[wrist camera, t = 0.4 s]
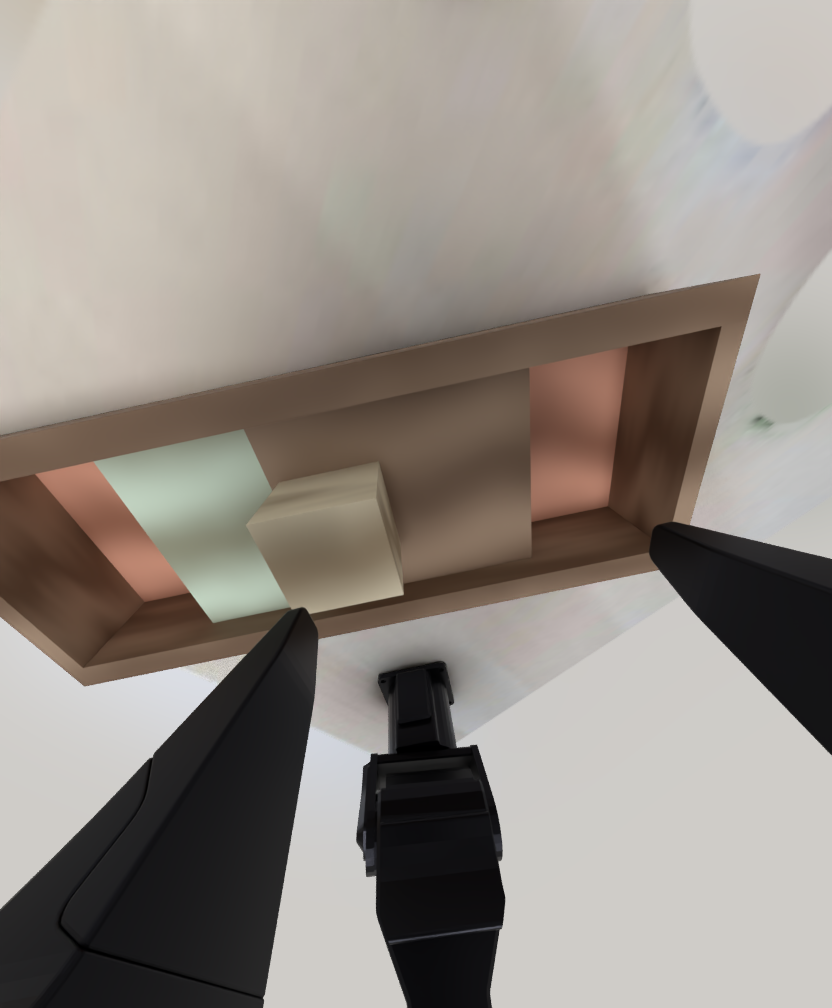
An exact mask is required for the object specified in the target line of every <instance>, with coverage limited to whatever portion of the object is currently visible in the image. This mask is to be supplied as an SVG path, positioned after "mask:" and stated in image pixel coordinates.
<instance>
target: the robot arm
mask: <svg viewBox="0 0 832 1008" xmlns="http://www.w3.org/2000/svg"><path fill="white" fill-rule="evenodd" d="M649 556H650V558H651V560H652V562H653V563H654V564H655V565H656V567H657V568H658V569H659V570H660V572H661V573H662V574H663V575H664V577H665V578H666V579H667V580H668V581H669V583H670V584H671V585H672V586H673V588H674V589H675V590H676V591H677V593H678V594H679V595H680V596H681V598H682V599H683V600H684V601H685V602H686V604H687V605H688V606H689V607H690V609H691V610H692V611H693V612H694V613H695V614H696V615H697V616H698V618H700V620H701V621H702V622H703V623H704V624H705V625H706V626H707V627H708V628H709V629H710V630H711V631H712V632H713V633H714V634H715V635H716V636H717V637H718V638H719V639H720V641H721V642H723V644H725V646H726V647H727V648H728V649H729V650H730V651H731V652H732V653H733V654H734V655H735V656H736V657H737V658H738V659H739V660H740V661H741V662H742V663H743V664H744V665H745V666H746V667H747V668H748V669H749V670H750V672H751V673H752V674H753V675H754V676H755V677H756V678H757V679H758V680H759V681H760V682H761V683H762V684H763V685H764V686H765V687H766V688H767V689H768V690H769V691H770V692H771V693H772V694H773V695H774V696H775V697H776V698H777V699H778V700H779V701H780V703H782V705H784V707H785V708H787V710H788V711H789V712H790V713H791V714H792V715H793V716H794V717H795V718H796V719H797V720H798V721H799V722H800V723H801V724H802V725H803V726H804V727H805V728H806V729H807V730H808V731H809V732H810V733H811V735H813V736H814V738H815V739H816V740H817V741H818V742H819V743H820V744H821V745H822V746H823V747H824V748H825V749H826V750H827V751H828V752H829V753H830V754H831V755H832V559H830V558H825V557H821V556H817V555H813V554H809V553H804V552H800V551H796V550H792V549H788V548H783V547H779V546H775V545H771V544H767V543H762V542H758V541H754V540H750V539H746V538H741V537H737V536H733V535H729V534H725V533H720V532H716V531H712V530H708V529H704V528H699V527H695V526H691V525H687V524H683V523H678V522H666V523H662V524H658V525H656V526H654V528H653V529H652V534H651V540H650V546H649ZM317 653H318V630H317V627H316V625H315V623H314V621H313V620H312V618H311V616H310V614H309V612H308V611H307V609H306V608H304V607H300V608H296V609H291V610H289V611H287V612H286V613H285V614H284V615H283V616H282V617H281V618H280V619H279V621H278V622H277V623H276V624H275V625H274V626H273V627H272V628H271V629H270V630H269V631H268V632H267V633H266V634H265V636H264V637H263V638H262V639H261V640H260V641H259V642H258V643H257V644H256V645H255V646H254V647H253V648H252V649H251V650H250V652H249V653H248V654H247V655H246V656H245V657H244V658H243V659H242V660H241V661H240V662H239V663H238V664H237V665H236V666H235V668H234V669H233V670H232V671H231V672H230V673H229V674H228V675H227V676H226V677H225V678H224V679H223V680H222V681H221V682H220V684H219V685H218V686H217V687H216V688H215V689H214V690H213V691H212V692H211V693H210V694H209V695H208V696H207V697H206V699H205V700H204V701H203V702H202V703H201V704H200V705H199V706H198V707H197V708H196V709H195V710H194V712H192V713H191V715H190V716H189V717H188V718H187V719H186V720H185V721H184V722H183V723H182V724H181V725H180V726H179V727H178V728H177V729H176V730H175V732H174V733H173V734H172V735H171V736H170V737H169V738H168V739H167V740H166V741H165V742H164V743H163V745H161V747H160V748H159V749H158V750H157V751H156V752H155V753H154V755H153V758H149V759H148V760H147V762H145V763H144V765H143V766H142V767H141V768H140V769H139V770H138V771H137V772H136V773H135V774H134V775H133V776H132V777H131V778H130V780H129V781H128V782H127V783H126V784H125V785H124V786H123V787H122V788H121V789H120V790H119V791H118V792H117V793H116V794H115V795H114V796H113V797H112V798H111V799H110V800H109V801H108V803H107V804H106V805H105V806H104V807H103V808H102V809H101V810H100V811H99V812H98V813H97V814H96V815H95V816H94V817H93V818H92V819H91V820H90V821H89V822H88V823H87V824H86V825H85V826H84V827H83V828H82V829H81V830H80V831H79V832H78V833H77V834H76V835H75V836H74V837H73V838H72V839H71V840H70V841H69V842H68V843H67V844H66V845H65V846H64V847H63V848H62V849H61V850H60V851H59V852H58V853H57V854H56V855H55V856H54V857H53V858H52V859H51V860H50V861H49V862H48V863H47V864H46V865H45V866H44V867H43V868H42V869H41V870H40V871H39V872H38V873H37V874H36V875H35V876H34V877H33V878H32V879H31V880H30V881H29V882H28V883H27V884H26V885H25V886H24V887H23V888H22V889H20V890H19V891H18V892H17V893H16V894H15V895H14V896H13V898H11V899H10V900H9V901H8V902H7V903H6V904H5V905H4V906H3V907H2V908H1V909H0V1008H263V1004H264V999H263V997H264V995H265V990H266V984H267V979H268V972H269V966H270V960H271V954H272V949H273V943H274V937H275V931H276V925H277V918H278V912H279V907H280V901H281V895H282V889H283V883H284V877H285V871H286V865H287V859H288V853H289V847H290V841H291V835H292V830H293V823H294V818H295V811H296V806H297V799H298V794H299V788H300V782H301V776H302V770H303V764H304V758H305V752H306V746H307V740H308V734H309V728H310V722H311V716H312V710H313V704H314V696H315V684H316V669H317ZM378 684H379V686H380V688H381V691H382V693H383V695H384V698H385V700H386V703H387V705H388V754H381V755H378V753H376V754H371V760H370V762H369V763H368V764H366V765H365V766H364V767H363V780H362V794H361V802H360V810H359V818H358V826H357V837H356V841H357V844H358V845H359V847H360V848H361V850H362V851H363V857H364V858H363V859H364V861H366V877H372V876H376V914H377V918H378V922H379V924H380V928H381V931H382V933H383V936H384V939H385V942H386V945H387V948H388V951H389V953H390V957H391V959H392V962H393V965H394V968H395V971H396V974H397V977H398V980H399V983H400V985H401V988H402V991H403V994H404V997H405V1000H406V1003H407V1008H492V1005H491V998H490V988H491V981H492V975H493V969H494V962H495V955H496V949H497V942H498V936H499V930H500V929H502V925H503V917H504V908H505V894H504V890H503V885H502V880H501V874H500V869H499V864H498V861H501V860H502V851H503V850H502V838H501V830H500V824H499V819H498V814H497V810H496V805H495V802H494V798H493V795H492V792H491V788H490V785H489V782H488V779H487V775H486V772H485V769H484V766H483V762H482V759H481V756H480V753H479V750H478V746H477V745H470V747H460V748H457V746H456V741H455V735H454V729H453V723H452V717H451V711H450V705H452V704H453V703H454V699H453V694H452V690H451V686H450V682H449V677H448V673H447V669H446V665H445V664H444V663H436V664H431V665H426V666H421V667H416V668H411V669H406V670H401V671H396V672H391V673H386V674H381V675H379V676H378Z"/></svg>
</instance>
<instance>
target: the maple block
mask: <svg viewBox="0 0 832 1008" xmlns="http://www.w3.org/2000/svg"><path fill="white" fill-rule="evenodd" d="M246 527H247V528H248V530H249V532H250V534H251V536H252V538H253V539H254V541H255V543H256V545H257V547H258V549H259V550H260V552H261V554H262V556H263V558H264V560H265V561H266V563H267V565H268V567H269V569H270V571H271V572H272V574H273V576H274V578H275V580H276V582H277V583H278V585H279V587H280V589H281V591H282V593H283V594H284V596H285V598H286V600H287V602H288V604H289V605H290V607H291V609H296V608H300V607H304V608H306V609H307V611H308V612H309V614H312V613H317V612H322V611H327V610H332V609H337V608H341V607H346V606H351V605H356V604H361V603H366V602H371V601H376V600H381V599H385V598H390V597H395V596H400V595H404V590H403V574H402V559H401V544H400V540H399V536H398V532H397V528H396V524H395V521H394V517H393V513H392V509H391V506H390V502H389V498H388V494H387V491H386V487H385V483H384V479H383V475H382V472H381V468H380V464H379V461H377V462H373V463H368V464H363V465H358V466H354V467H349V468H344V469H340V470H335V471H330V472H325V473H321V474H316V475H311V476H307V477H302V478H297V479H292V480H288V481H283V482H279V483H278V484H277V486H276V487H275V488H274V490H273V491H272V492H271V493H270V495H269V496H268V497H267V499H266V500H265V501H264V502H263V504H262V505H261V506H260V508H259V509H258V510H257V512H256V513H255V514H254V515H253V517H252V518H251V519H250V521H249V522H248V523H247V524H246Z"/></svg>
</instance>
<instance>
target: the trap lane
mask: <svg viewBox="0 0 832 1008" xmlns="http://www.w3.org/2000/svg"><path fill="white" fill-rule="evenodd" d="M759 278H760V274H756V275H751V276H746V277H740V278H735V279H729V280H724V281H719V282H713V283H708V284H702V285H697V286H692V287H686V288H681V289H675V290H670V291H665V292H659V293H654V294H648V295H644V296H639V297H635V298H630V299H625V300H621V301H616V302H612V303H607V304H602V305H598V306H593V307H589V308H584V309H580V310H575V311H570V312H566V313H561V314H557V315H552V316H547V317H543V318H538V319H534V320H529V321H524V322H520V323H515V324H511V325H506V326H502V327H497V328H492V329H488V330H483V331H479V332H474V333H469V334H465V335H460V336H456V337H451V338H447V339H442V340H437V341H433V342H428V343H424V344H419V345H414V346H410V347H405V348H401V349H396V350H391V351H387V352H382V353H378V354H373V355H369V356H364V357H359V358H355V359H350V360H346V361H341V362H336V363H332V364H327V365H323V366H318V367H314V368H309V369H304V370H300V371H295V372H291V373H286V374H281V375H277V376H272V377H268V378H263V379H258V380H254V381H249V382H245V383H240V384H236V385H231V386H226V387H222V388H217V389H213V390H208V391H203V392H199V393H194V394H190V395H185V396H181V397H176V398H171V399H167V400H162V401H158V402H153V403H148V404H144V405H139V406H135V407H130V408H125V409H121V410H116V411H112V412H107V413H103V414H98V415H93V416H89V417H84V418H80V419H75V420H70V421H66V422H61V423H57V424H52V425H48V426H43V427H38V428H34V429H29V430H25V431H20V432H15V433H11V434H6V435H2V436H0V617H1V618H2V619H4V620H5V621H6V622H7V623H8V624H10V625H11V626H12V627H13V628H14V629H16V630H17V631H18V632H19V633H20V634H22V635H23V636H24V637H25V638H27V639H28V640H29V641H30V642H31V643H33V644H34V645H35V646H36V647H37V648H39V649H40V650H41V651H42V652H43V653H45V654H46V655H47V656H48V657H50V658H51V659H52V660H53V661H54V662H56V663H57V664H58V665H59V666H60V667H62V668H63V669H64V670H65V671H66V672H68V673H69V674H70V675H71V676H73V677H74V678H75V679H76V680H77V681H79V682H80V683H81V684H82V685H83V686H89V685H94V684H99V683H103V682H109V681H114V680H118V679H124V678H128V677H133V676H138V675H143V674H148V673H153V672H157V671H163V670H168V669H173V668H178V667H183V666H188V665H193V664H198V663H202V662H207V661H212V660H217V659H222V658H227V657H232V656H237V655H242V654H247V653H249V652H250V650H251V649H252V648H253V647H254V646H255V645H256V644H257V643H258V642H259V641H260V640H261V639H262V638H263V637H264V636H265V634H266V633H267V632H268V631H269V630H270V629H271V628H272V627H273V626H274V625H275V624H276V623H277V622H278V621H279V619H280V618H281V617H282V616H283V615H284V614H285V613H286V612H287V611H289V610H291V607H290V605H289V604H288V602H287V600H286V598H285V596H284V594H283V593H282V591H281V589H280V587H279V585H278V583H277V582H276V580H275V578H274V576H273V574H272V572H271V571H270V569H269V567H268V565H267V563H266V561H265V560H264V558H263V556H262V554H261V552H260V550H259V549H258V547H257V545H256V543H255V541H254V539H253V538H252V536H251V534H250V532H249V530H248V528H247V527H246V524H247V523H248V522H249V521H250V519H251V518H252V517H253V515H254V514H255V513H256V512H257V510H258V509H259V508H260V506H261V505H262V504H263V502H264V501H265V500H266V499H267V497H268V496H269V495H270V493H271V492H272V491H273V490H274V488H275V487H276V486H277V484H278V483H279V482H283V481H288V480H292V479H297V478H302V477H307V476H311V475H316V474H321V473H325V472H330V471H335V470H340V469H344V468H349V467H354V466H358V465H363V464H368V463H373V462H377V461H379V464H380V468H381V472H382V475H383V479H384V483H385V487H386V491H387V494H388V498H389V502H390V506H391V509H392V513H393V517H394V521H395V524H396V528H397V532H398V536H399V540H400V544H401V559H402V574H403V590H404V595H400V596H395V597H390V598H385V599H381V600H376V601H371V602H366V603H361V604H356V605H351V606H346V607H341V608H337V609H332V610H327V611H322V612H317V613H312V614H310V616H311V618H312V620H313V621H314V623H315V625H316V627H317V630H318V639H321V638H326V637H331V636H336V635H340V634H345V633H350V632H355V631H360V630H365V629H370V628H375V627H380V626H385V625H390V624H395V623H400V622H405V621H409V620H414V619H419V618H424V617H429V616H434V615H439V614H444V613H449V612H454V611H459V610H464V609H469V608H474V607H478V606H483V605H488V604H493V603H498V602H503V601H508V600H513V599H518V598H523V597H528V596H533V595H538V594H543V593H547V592H552V591H557V590H562V589H567V588H572V587H577V586H582V585H587V584H592V583H597V582H602V581H607V580H612V579H616V578H621V577H626V576H631V575H636V574H641V573H646V572H651V571H656V570H659V569H658V568H657V567H656V565H655V564H654V563H653V562H652V560H651V558H650V556H649V546H650V540H651V534H652V529H653V528H654V526H656V525H658V524H662V523H666V522H678V523H683V524H687V525H690V521H691V518H692V514H693V511H694V507H695V504H696V500H697V497H698V493H699V489H700V486H701V482H702V479H703V475H704V472H705V468H706V465H707V461H708V458H709V454H710V451H711V447H712V444H713V440H714V437H715V433H716V429H717V426H718V422H719V419H720V415H721V412H722V408H723V405H724V401H725V398H726V394H727V391H728V387H729V384H730V380H731V377H732V373H733V369H734V366H735V362H736V359H737V355H738V352H739V348H740V345H741V341H742V338H743V334H744V331H745V327H746V324H747V320H748V317H749V313H750V309H751V306H752V302H753V299H754V295H755V292H756V288H757V285H758V281H759Z"/></svg>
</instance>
